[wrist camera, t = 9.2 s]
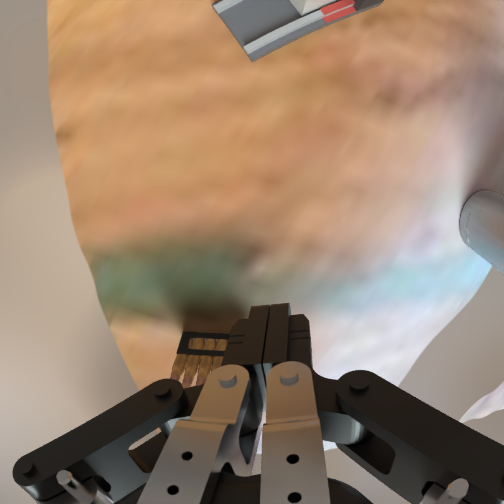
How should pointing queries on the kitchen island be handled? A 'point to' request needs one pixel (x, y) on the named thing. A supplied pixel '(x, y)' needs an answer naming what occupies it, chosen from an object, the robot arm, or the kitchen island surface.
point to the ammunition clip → (198, 356)
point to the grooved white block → (310, 5)
